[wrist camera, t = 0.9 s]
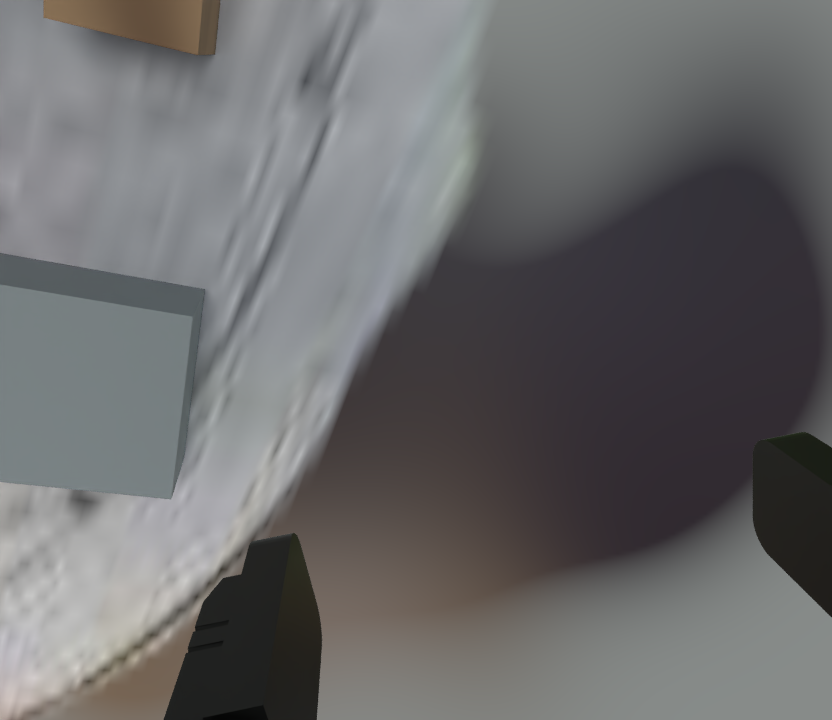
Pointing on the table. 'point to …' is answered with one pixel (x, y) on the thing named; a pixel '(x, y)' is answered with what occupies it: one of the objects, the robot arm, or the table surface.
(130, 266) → the table surface
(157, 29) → the walnut block
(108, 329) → the slate base block
